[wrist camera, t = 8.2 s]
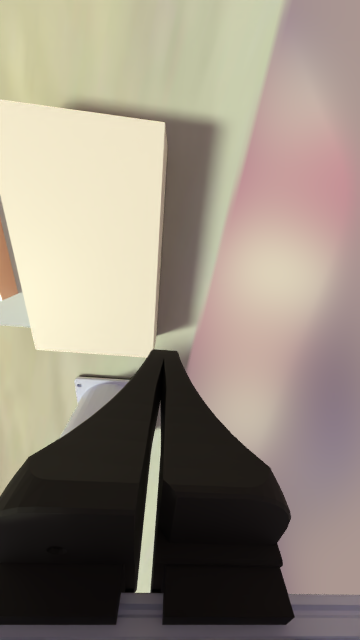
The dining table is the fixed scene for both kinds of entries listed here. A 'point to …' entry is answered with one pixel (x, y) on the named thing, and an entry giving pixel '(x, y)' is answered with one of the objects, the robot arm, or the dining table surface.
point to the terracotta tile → (6, 270)
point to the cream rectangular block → (85, 224)
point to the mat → (14, 306)
